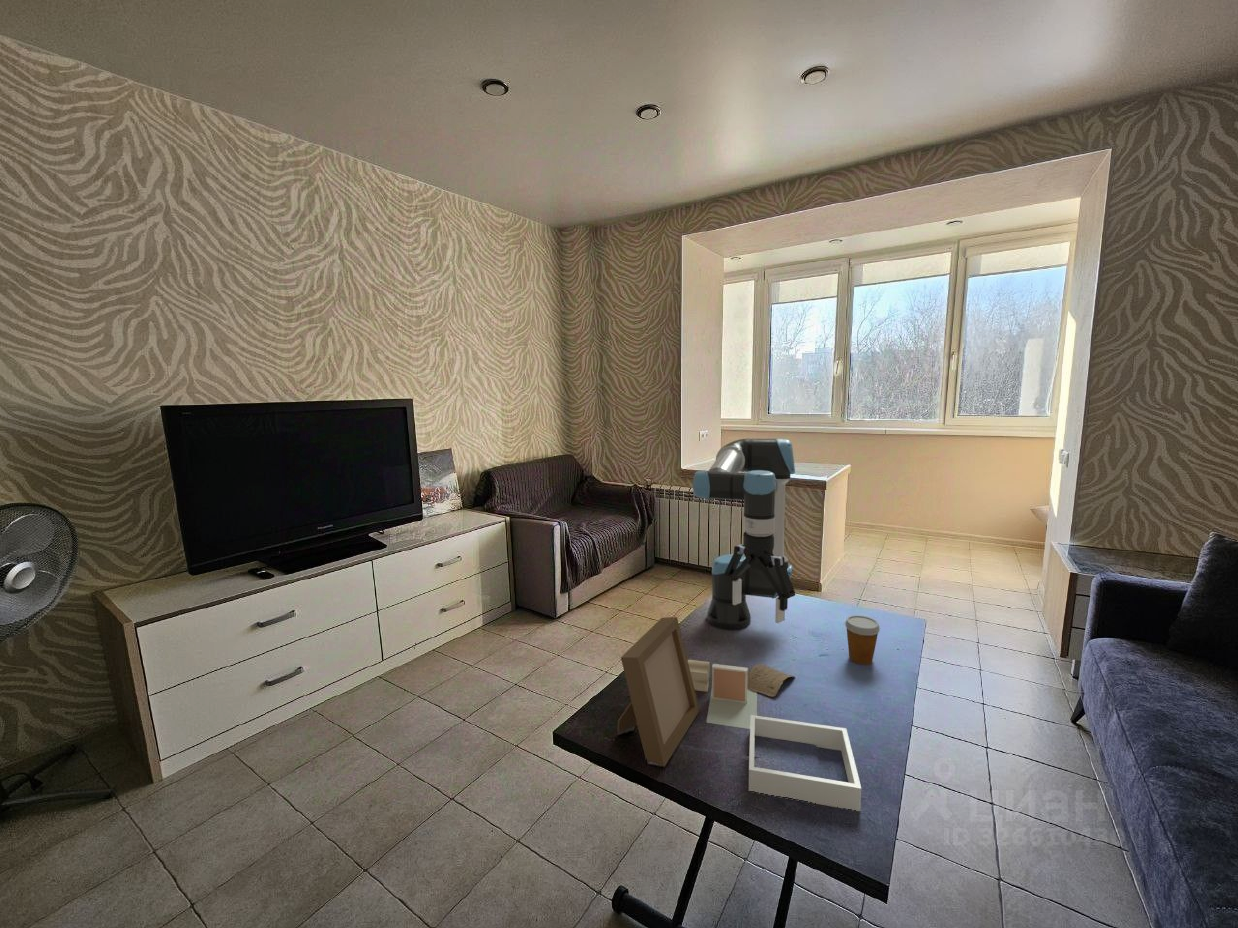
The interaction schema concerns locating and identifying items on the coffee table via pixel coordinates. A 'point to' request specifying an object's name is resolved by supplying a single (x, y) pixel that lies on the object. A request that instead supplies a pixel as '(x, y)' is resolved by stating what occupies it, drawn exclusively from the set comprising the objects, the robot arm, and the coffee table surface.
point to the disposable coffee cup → (861, 638)
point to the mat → (732, 711)
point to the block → (700, 674)
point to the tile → (729, 683)
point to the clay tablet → (765, 680)
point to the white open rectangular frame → (801, 784)
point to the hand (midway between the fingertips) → (757, 612)
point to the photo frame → (659, 690)
